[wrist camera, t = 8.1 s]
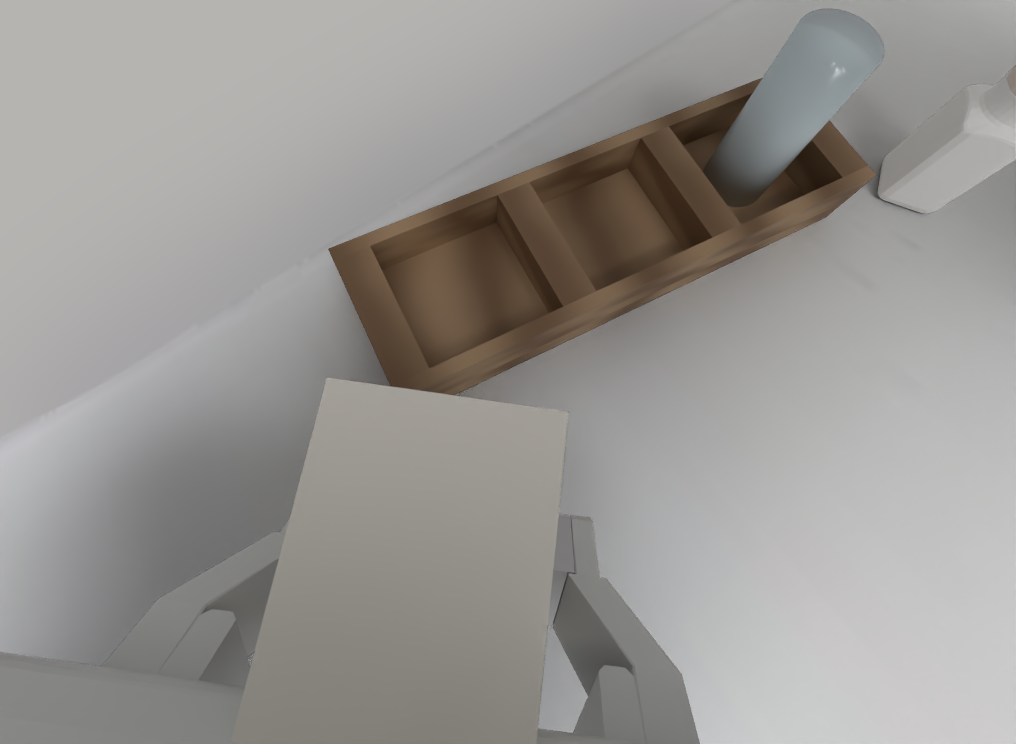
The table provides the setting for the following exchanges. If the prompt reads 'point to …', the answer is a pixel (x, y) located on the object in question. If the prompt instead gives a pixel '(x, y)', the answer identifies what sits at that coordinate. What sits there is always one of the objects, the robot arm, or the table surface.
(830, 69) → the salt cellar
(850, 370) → the table surface
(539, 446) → the clay block
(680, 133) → the rack
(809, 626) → the table surface
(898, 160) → the pepper shaker
